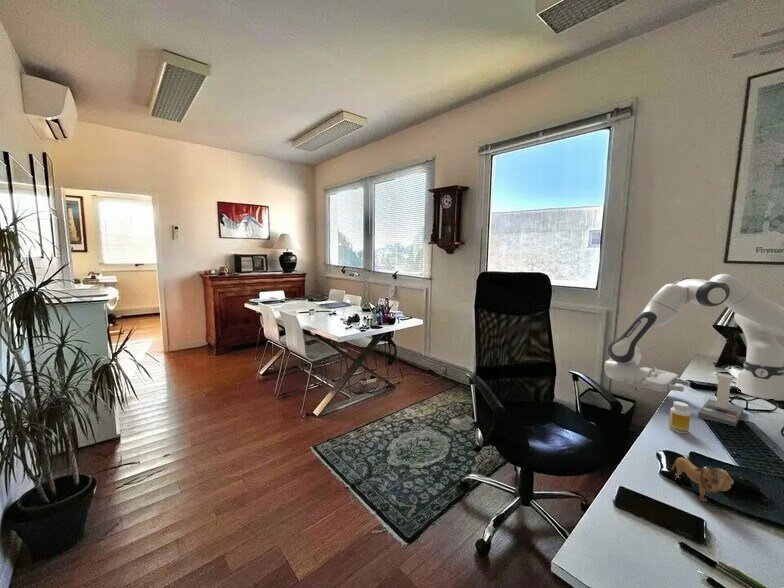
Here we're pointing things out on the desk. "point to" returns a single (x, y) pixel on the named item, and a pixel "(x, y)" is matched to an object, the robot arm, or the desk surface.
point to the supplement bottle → (679, 417)
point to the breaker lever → (723, 391)
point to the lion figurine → (704, 477)
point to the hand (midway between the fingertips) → (686, 386)
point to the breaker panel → (721, 413)
